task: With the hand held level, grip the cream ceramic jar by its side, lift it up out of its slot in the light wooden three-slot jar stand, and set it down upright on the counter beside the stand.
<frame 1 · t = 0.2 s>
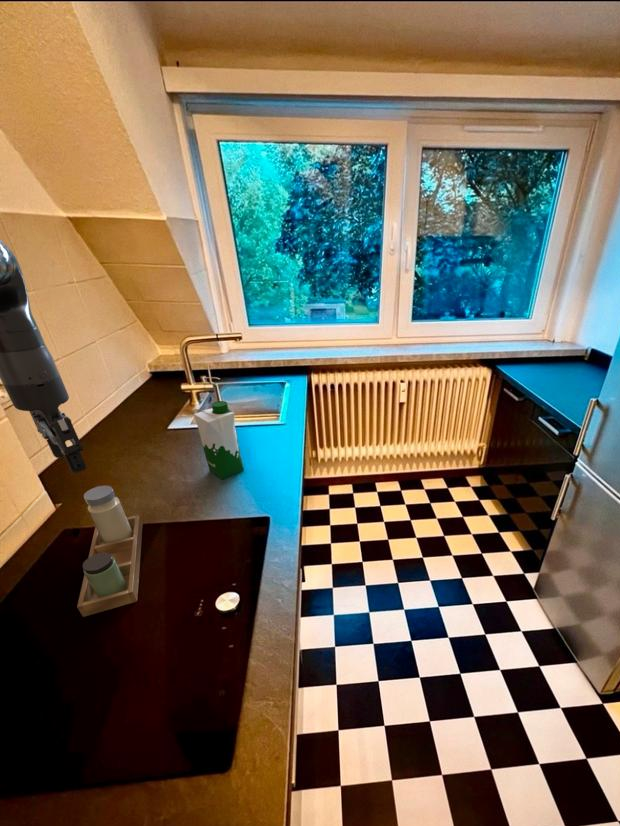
hand: (70, 463, 71), 23 cm above the counter, tool pointing down, fingers open, 8 cm apart
jar stand: (117, 565, 81), on the counter
milk carton: (226, 471, 112), on the counter
spice jar: (112, 591, 74), point 1 cm above the counter, touching jar stand
jar: (119, 540, 86), point 1 cm above the counter, touching jar stand
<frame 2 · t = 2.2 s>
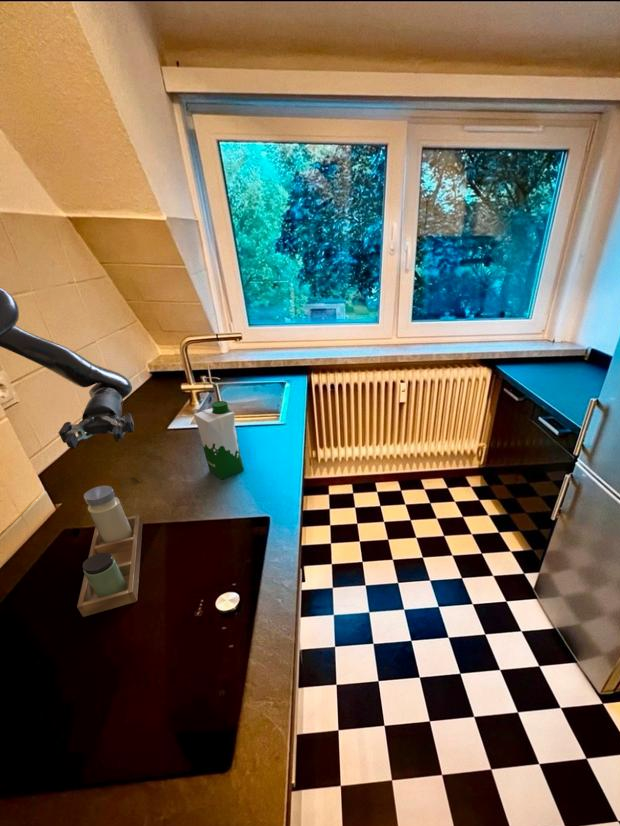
hand: (94, 441, 84), 20 cm above the counter, tool horizontal, fingers open, 8 cm apart
nothing on the counter moved.
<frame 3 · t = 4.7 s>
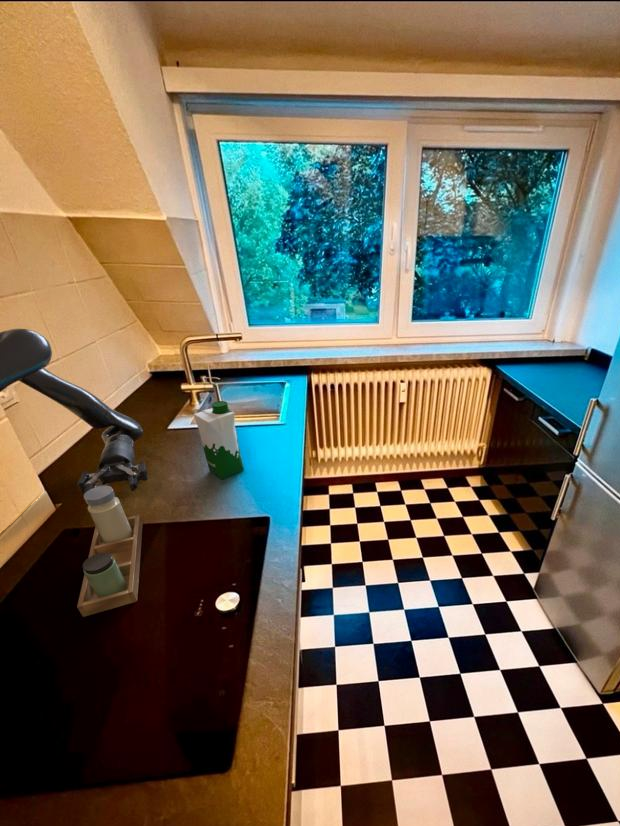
hand: (111, 492, 89), 8 cm above the counter, tool horizontal, fingers open, 8 cm apart
nothing on the counter moved.
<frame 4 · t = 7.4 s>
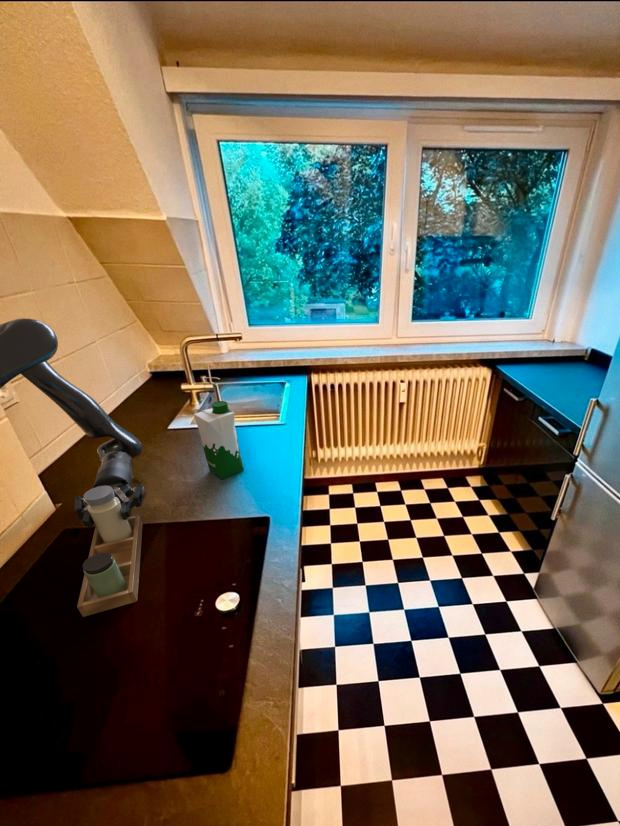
hand: (106, 520, 80), 8 cm above the counter, tool horizontal, fingers closed on jar, 6 cm apart
jar: (119, 540, 86), point 1 cm above the counter, touching gripper, jar stand
everything else where it was.
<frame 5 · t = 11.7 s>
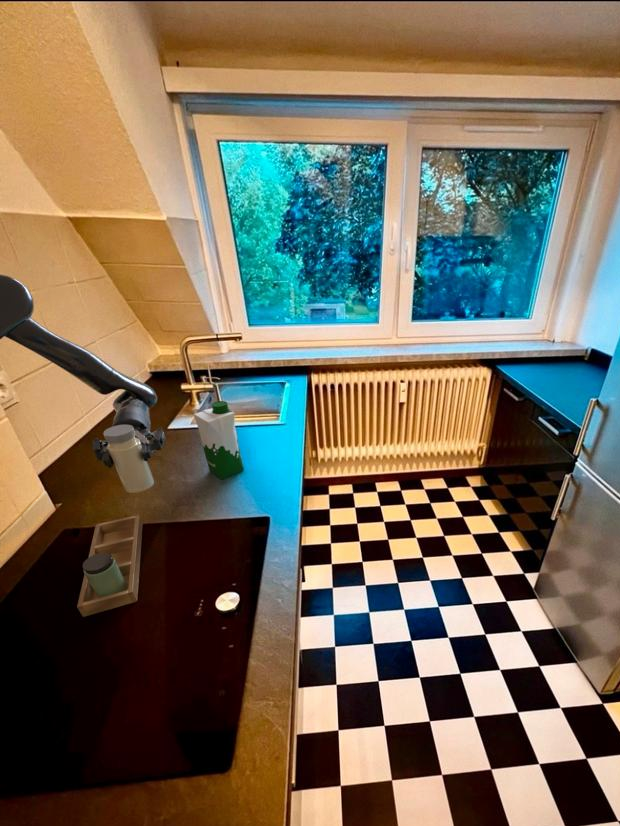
hand: (127, 460, 77), 21 cm above the counter, tool horizontal, fingers closed on jar, 6 cm apart
jar: (139, 485, 83), point 13 cm above the counter, touching gripper
everything else where it was.
when the fingers open (8 cm above the counter, at t = 15.9 s): jar stays where it is, on the counter.
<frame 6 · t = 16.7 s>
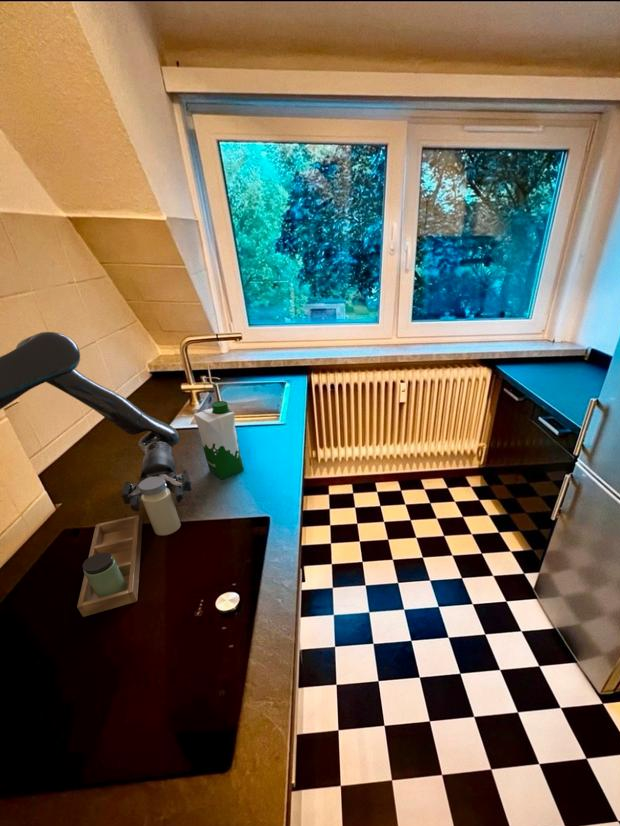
hand: (157, 503, 85), 8 cm above the counter, tool horizontal, fingers open, 8 cm apart
jar: (168, 528, 90), on the counter
everything else where it was.
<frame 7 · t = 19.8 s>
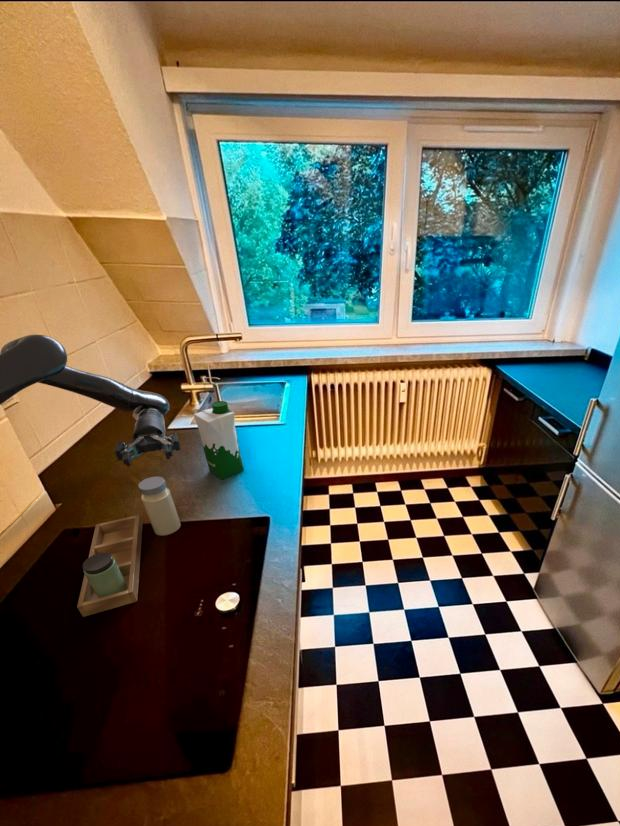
hand: (147, 459, 91), 13 cm above the counter, tool horizontal, fingers open, 8 cm apart
nothing on the counter moved.
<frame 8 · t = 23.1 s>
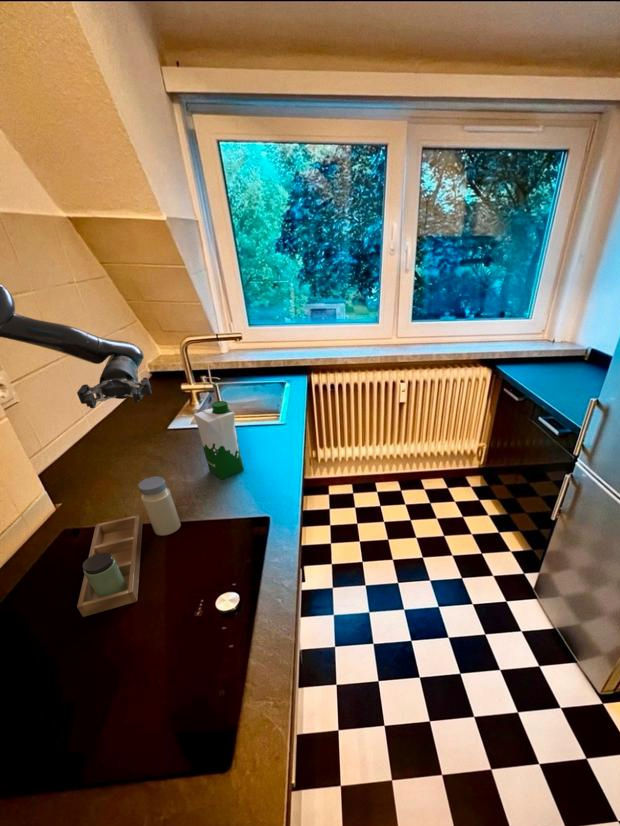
hand: (113, 401, 83), 28 cm above the counter, tool horizontal, fingers open, 8 cm apart
nothing on the counter moved.
at the end: jar 0.1 cm from the target spot, on the counter; jar tilted 0°; the gripper is holding nothing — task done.
